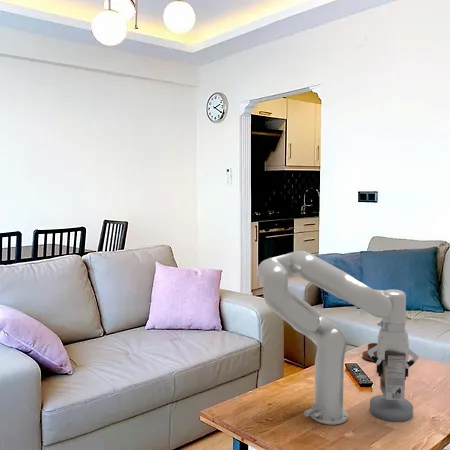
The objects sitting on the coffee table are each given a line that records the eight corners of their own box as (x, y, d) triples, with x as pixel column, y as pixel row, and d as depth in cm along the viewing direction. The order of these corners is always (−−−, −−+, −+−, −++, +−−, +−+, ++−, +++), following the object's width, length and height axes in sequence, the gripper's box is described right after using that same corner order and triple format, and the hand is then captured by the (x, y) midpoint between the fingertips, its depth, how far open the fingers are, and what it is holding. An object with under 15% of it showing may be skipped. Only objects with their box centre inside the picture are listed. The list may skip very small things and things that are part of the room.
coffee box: (379, 388, 173) (380, 344, 172) (397, 389, 173) (399, 344, 171) (385, 400, 164) (386, 353, 163) (405, 400, 163) (406, 353, 162)
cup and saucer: (372, 352, 228) (372, 339, 228) (395, 359, 219) (395, 346, 219) (356, 358, 221) (357, 345, 220) (380, 366, 212) (380, 352, 211)
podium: (395, 426, 159) (395, 417, 159) (361, 409, 171) (361, 401, 170) (421, 414, 167) (421, 406, 167) (387, 399, 179) (387, 391, 178)
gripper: (365, 327, 166) (364, 377, 167) (421, 332, 160) (419, 384, 161) (367, 321, 173) (366, 369, 174) (420, 325, 167) (419, 376, 168)
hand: (392, 376), depth 168 cm, fingers closed on coffee box, 7 cm apart
